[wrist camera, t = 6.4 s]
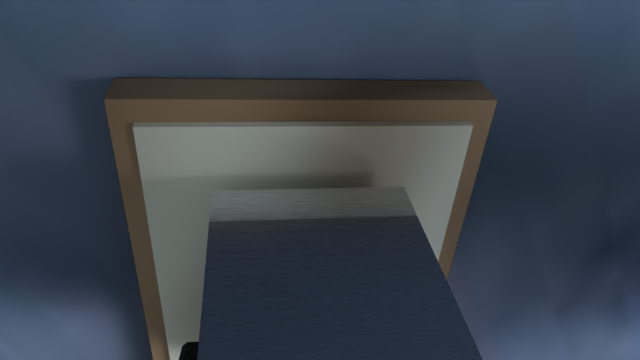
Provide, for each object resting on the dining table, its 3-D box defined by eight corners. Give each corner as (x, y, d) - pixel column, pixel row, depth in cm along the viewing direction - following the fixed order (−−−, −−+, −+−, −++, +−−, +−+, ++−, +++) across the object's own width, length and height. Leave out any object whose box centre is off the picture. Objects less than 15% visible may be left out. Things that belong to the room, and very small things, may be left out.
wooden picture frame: (480, 81, 12) (501, 104, 11) (410, 357, 17) (419, 388, 16) (114, 77, 11) (101, 104, 10) (165, 373, 16) (160, 408, 15)
